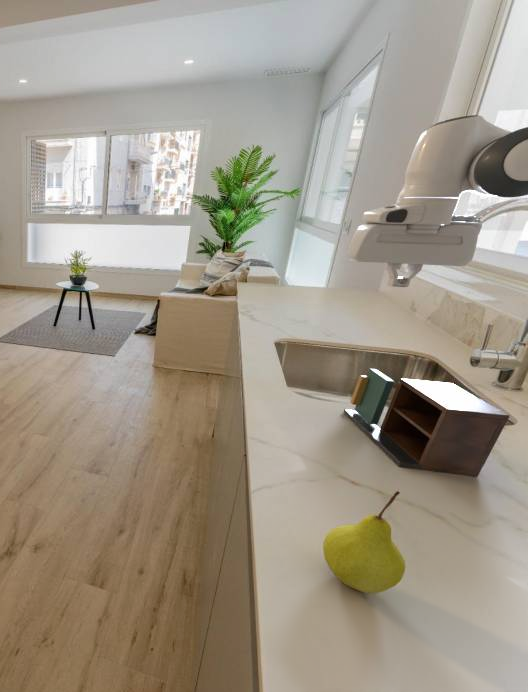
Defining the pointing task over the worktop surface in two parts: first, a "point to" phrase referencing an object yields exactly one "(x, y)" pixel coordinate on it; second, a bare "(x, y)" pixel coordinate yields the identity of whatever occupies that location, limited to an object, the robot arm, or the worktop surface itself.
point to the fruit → (365, 554)
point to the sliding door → (372, 395)
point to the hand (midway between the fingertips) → (397, 286)
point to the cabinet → (436, 428)
